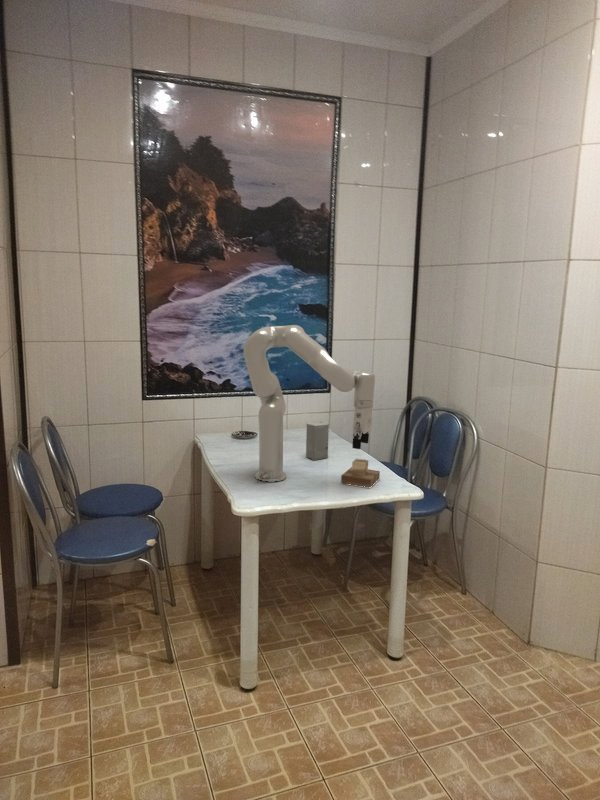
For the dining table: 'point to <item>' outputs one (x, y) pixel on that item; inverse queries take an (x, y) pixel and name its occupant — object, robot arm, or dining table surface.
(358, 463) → the maple cube
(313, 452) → the skincare box
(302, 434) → the dining table surface
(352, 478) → the walnut block
